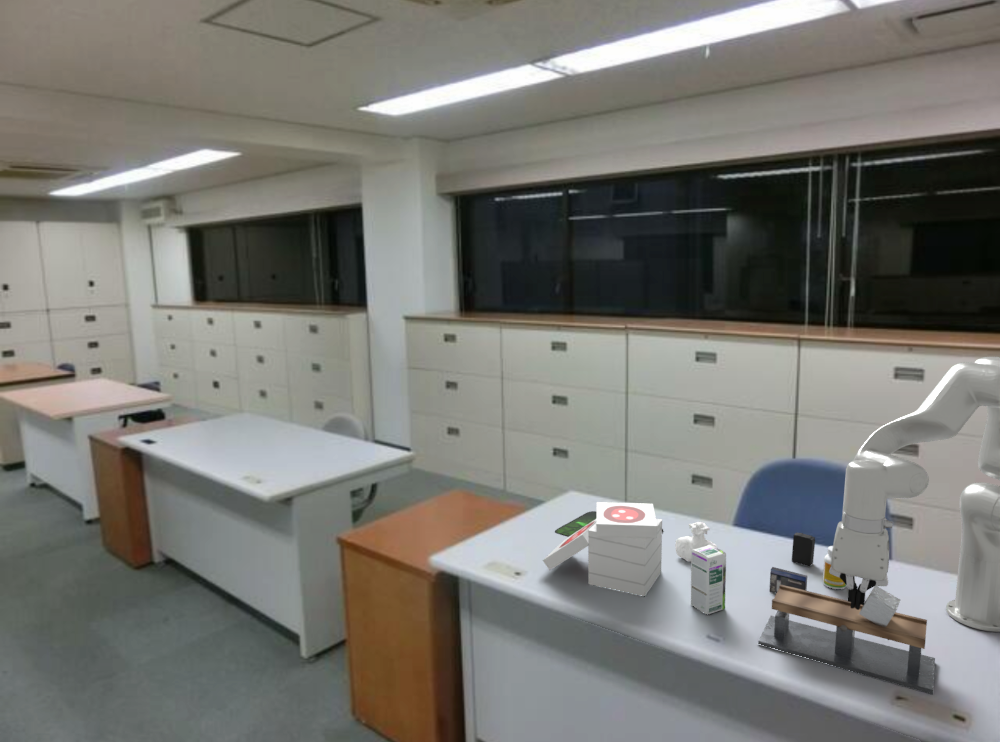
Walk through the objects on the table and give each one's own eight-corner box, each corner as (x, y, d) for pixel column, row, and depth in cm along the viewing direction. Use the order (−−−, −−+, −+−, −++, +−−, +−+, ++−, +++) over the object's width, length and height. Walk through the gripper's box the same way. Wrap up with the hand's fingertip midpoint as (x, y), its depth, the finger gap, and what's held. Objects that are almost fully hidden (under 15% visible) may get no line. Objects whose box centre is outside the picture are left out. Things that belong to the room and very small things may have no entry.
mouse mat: (551, 533, 208) (551, 530, 208) (589, 511, 225) (589, 508, 225) (630, 557, 191) (630, 553, 191) (665, 531, 208) (665, 528, 207)
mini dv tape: (769, 591, 170) (770, 569, 169) (771, 589, 171) (772, 566, 170) (804, 601, 165) (805, 578, 164) (806, 598, 166) (807, 575, 165)
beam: (925, 630, 138) (927, 618, 138) (924, 653, 131) (925, 640, 130) (780, 594, 153) (780, 583, 153) (770, 612, 146) (771, 601, 145)
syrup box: (707, 616, 159) (709, 558, 156) (689, 604, 164) (691, 548, 162) (725, 609, 162) (727, 552, 159) (707, 598, 167) (709, 543, 164)
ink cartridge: (813, 564, 183) (815, 536, 182) (810, 567, 182) (812, 539, 180) (794, 558, 187) (796, 531, 185) (791, 561, 185) (793, 534, 184)
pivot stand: (934, 662, 139) (937, 627, 138) (932, 694, 130) (936, 657, 128) (770, 619, 157) (772, 588, 156) (758, 644, 147) (759, 611, 146)
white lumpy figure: (719, 571, 185) (726, 531, 189) (713, 564, 179) (721, 523, 184) (675, 561, 192) (684, 523, 196) (669, 554, 186) (678, 515, 190)
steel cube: (888, 618, 139) (900, 599, 137) (884, 629, 135) (896, 610, 133) (864, 603, 141) (875, 585, 140) (859, 613, 138) (870, 594, 136)
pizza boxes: (567, 549, 196) (567, 489, 193) (671, 570, 182) (672, 506, 178) (538, 577, 180) (537, 513, 176) (650, 603, 165) (651, 533, 162)
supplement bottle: (849, 591, 169) (851, 554, 167) (825, 589, 170) (828, 553, 168) (842, 580, 174) (845, 545, 172) (820, 579, 175) (822, 543, 173)
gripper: (907, 523, 136) (898, 608, 139) (825, 508, 144) (819, 589, 147) (904, 536, 130) (895, 625, 133) (819, 520, 138) (813, 604, 141)
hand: (855, 606), depth 140 cm, fingers closed
